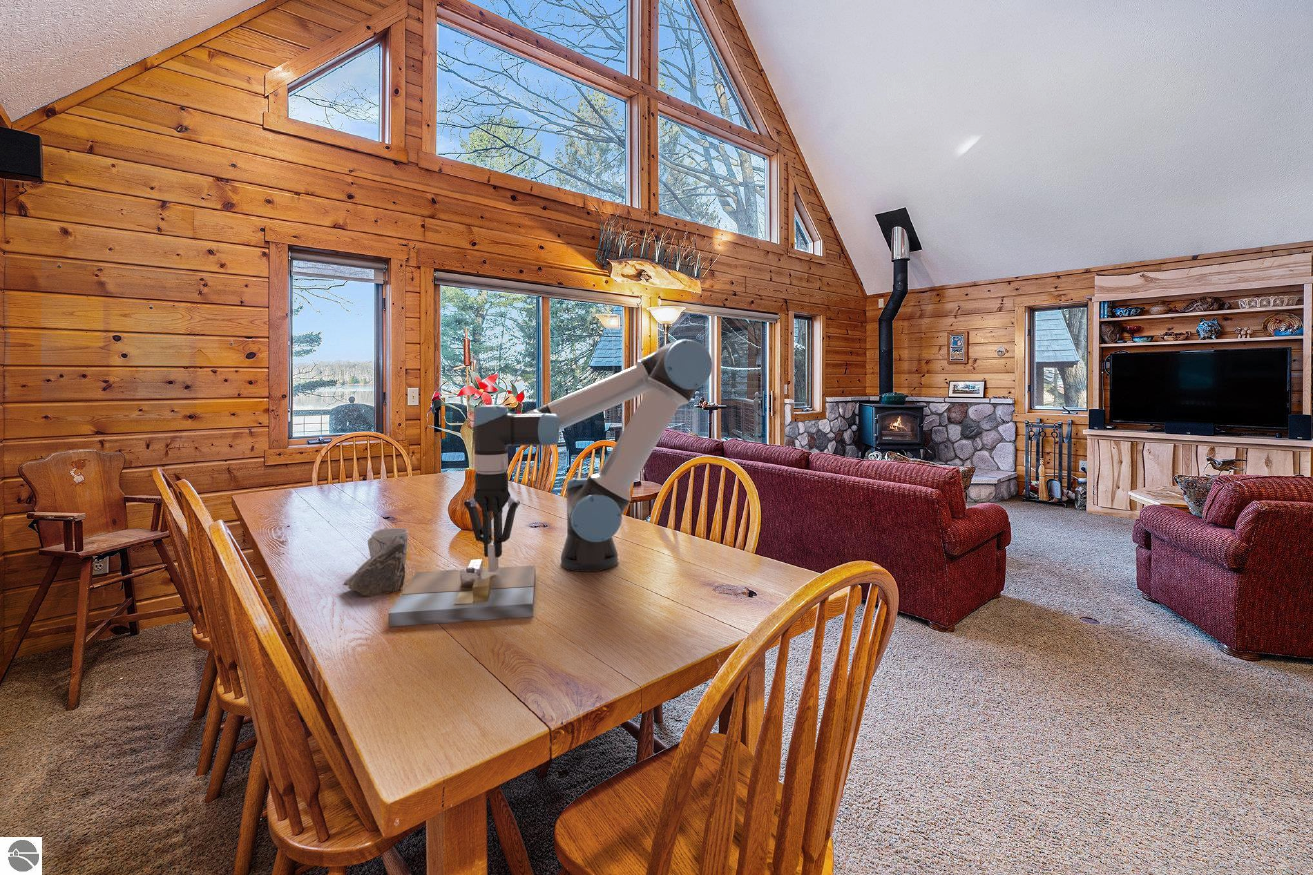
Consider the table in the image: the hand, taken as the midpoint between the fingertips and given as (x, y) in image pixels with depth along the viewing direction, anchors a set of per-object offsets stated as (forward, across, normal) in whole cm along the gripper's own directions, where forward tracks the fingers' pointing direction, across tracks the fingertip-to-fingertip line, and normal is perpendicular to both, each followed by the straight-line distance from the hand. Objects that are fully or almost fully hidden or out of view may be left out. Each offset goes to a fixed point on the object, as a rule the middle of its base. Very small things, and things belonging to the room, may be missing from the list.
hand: (493, 569), depth 139 cm
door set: (+4, +2, +8) cm, 9 cm away
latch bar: (+1, +4, +2) cm, 5 cm away
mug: (+4, +32, -10) cm, 34 cm away
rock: (+5, +27, +3) cm, 28 cm away
